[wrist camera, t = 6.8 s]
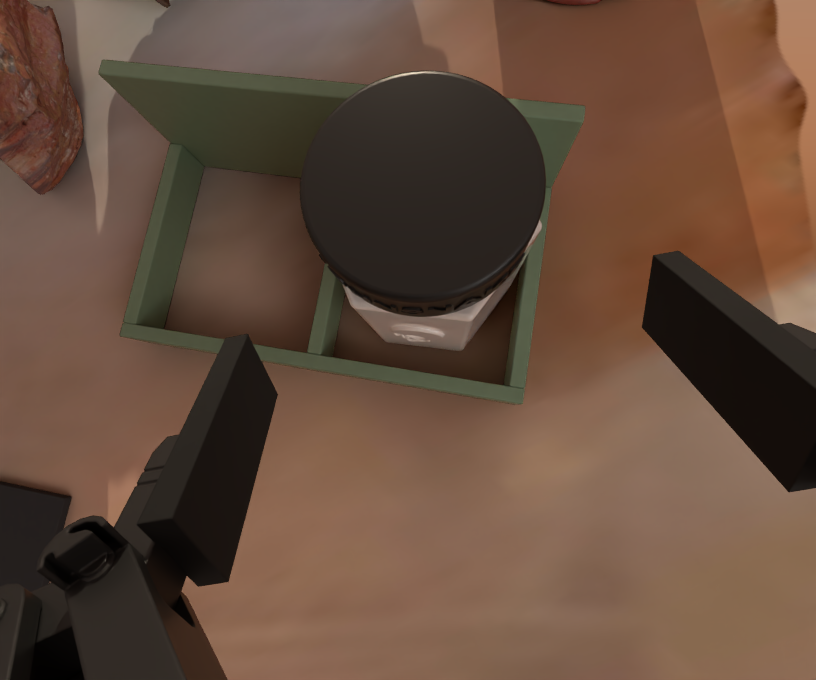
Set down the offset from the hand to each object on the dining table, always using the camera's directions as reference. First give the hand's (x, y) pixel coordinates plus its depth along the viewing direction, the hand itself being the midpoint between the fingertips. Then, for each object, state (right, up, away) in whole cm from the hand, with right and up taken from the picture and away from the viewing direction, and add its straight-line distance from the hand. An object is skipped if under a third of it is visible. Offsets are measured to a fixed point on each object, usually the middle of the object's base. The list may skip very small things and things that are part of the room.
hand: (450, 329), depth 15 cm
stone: (-25, +15, +16) cm, 33 cm away
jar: (0, +3, +12) cm, 12 cm away
